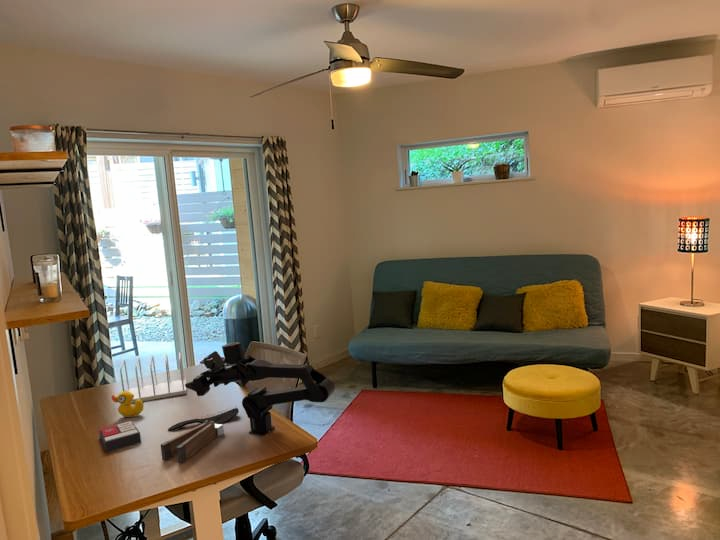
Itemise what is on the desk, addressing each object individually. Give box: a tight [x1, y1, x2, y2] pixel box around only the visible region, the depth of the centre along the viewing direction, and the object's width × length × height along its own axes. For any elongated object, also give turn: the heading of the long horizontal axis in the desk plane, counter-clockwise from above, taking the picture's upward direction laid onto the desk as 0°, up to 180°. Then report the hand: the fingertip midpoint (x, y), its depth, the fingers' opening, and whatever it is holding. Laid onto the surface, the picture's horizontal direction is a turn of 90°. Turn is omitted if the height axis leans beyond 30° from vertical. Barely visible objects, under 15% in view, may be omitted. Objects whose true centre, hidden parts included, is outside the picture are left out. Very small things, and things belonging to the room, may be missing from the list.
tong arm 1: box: [160, 420, 210, 461], centre depth 170 cm, size 1×19×6 cm, turn 148°
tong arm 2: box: [176, 421, 217, 464], centre depth 168 cm, size 1×19×6 cm, turn 162°
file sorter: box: [119, 351, 188, 404], centre depth 226 cm, size 25×17×16 cm
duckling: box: [111, 390, 144, 418], centre depth 202 cm, size 11×5×10 cm, turn 91°
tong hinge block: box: [214, 423, 225, 438], centre depth 180 cm, size 4×3×3 cm
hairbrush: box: [167, 407, 239, 432], centre depth 190 cm, size 8×4×25 cm
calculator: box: [98, 420, 142, 453], centre depth 181 cm, size 11×4×15 cm
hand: (193, 380), depth 186 cm, fingers open, 9 cm apart
